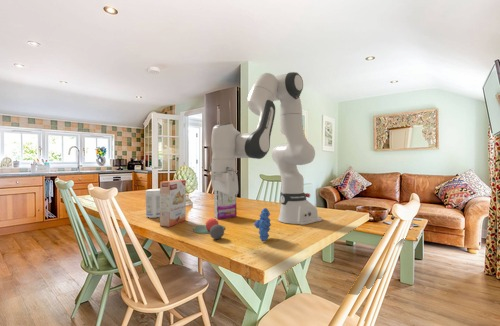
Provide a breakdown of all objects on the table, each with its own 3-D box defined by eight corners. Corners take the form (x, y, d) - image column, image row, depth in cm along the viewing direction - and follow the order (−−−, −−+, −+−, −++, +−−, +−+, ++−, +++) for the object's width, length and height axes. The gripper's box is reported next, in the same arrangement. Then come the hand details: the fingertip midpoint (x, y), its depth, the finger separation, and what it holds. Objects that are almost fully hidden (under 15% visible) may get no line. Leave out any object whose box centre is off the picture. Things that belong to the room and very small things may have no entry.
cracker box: (170, 227, 114) (170, 181, 114) (159, 226, 116) (158, 181, 116) (186, 220, 128) (186, 179, 127) (176, 219, 129) (175, 179, 129)
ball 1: (220, 230, 106) (217, 231, 110) (219, 217, 107) (216, 219, 112) (207, 231, 103) (204, 232, 108) (206, 218, 105) (204, 220, 110)
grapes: (256, 234, 103) (256, 205, 103) (273, 235, 101) (272, 206, 101) (250, 244, 91) (250, 211, 91) (269, 245, 90) (268, 212, 90)
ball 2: (227, 230, 96) (225, 238, 99) (220, 219, 99) (219, 228, 102) (214, 235, 93) (213, 244, 96) (207, 224, 96) (207, 233, 99)
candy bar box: (232, 215, 139) (232, 185, 139) (236, 216, 135) (236, 186, 134) (213, 217, 134) (213, 186, 133) (217, 219, 129) (217, 187, 129)
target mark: (219, 223, 121) (219, 223, 121) (229, 231, 108) (229, 230, 108) (190, 226, 115) (190, 226, 115) (197, 235, 102) (197, 234, 102)
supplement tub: (164, 213, 143) (164, 188, 143) (164, 217, 134) (164, 190, 134) (146, 215, 140) (145, 189, 140) (145, 219, 131) (145, 191, 131)
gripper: (242, 167, 84) (243, 208, 85) (223, 166, 103) (223, 199, 103) (224, 168, 82) (225, 210, 82) (208, 166, 100) (208, 200, 100)
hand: (224, 204), depth 93 cm, fingers closed
